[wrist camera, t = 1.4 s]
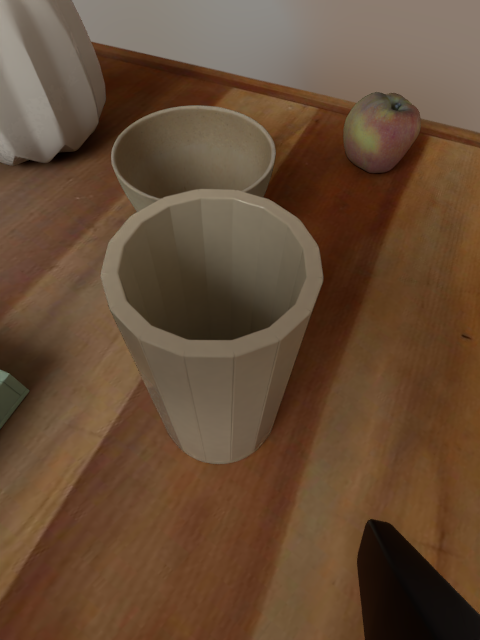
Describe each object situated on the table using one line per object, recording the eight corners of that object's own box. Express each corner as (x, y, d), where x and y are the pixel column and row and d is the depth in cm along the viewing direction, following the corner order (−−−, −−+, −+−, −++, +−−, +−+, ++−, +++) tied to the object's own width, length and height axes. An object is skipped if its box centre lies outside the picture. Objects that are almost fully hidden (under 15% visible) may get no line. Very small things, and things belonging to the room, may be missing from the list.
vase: (-65, 132, 35) (-204, -72, 24) (71, 85, 40) (10, -100, 29) (-2, 209, 30) (-142, -5, 18) (145, 143, 35) (106, -55, 24)
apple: (317, 175, 33) (334, 108, 28) (354, 133, 37) (373, 67, 32) (382, 201, 31) (411, 134, 26) (412, 155, 35) (443, 88, 30)
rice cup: (251, 484, 19) (280, 395, 9) (142, 435, 20) (54, 305, 10) (290, 378, 23) (345, 221, 12) (194, 341, 24) (169, 168, 13)
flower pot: (209, 175, 33) (205, 88, 27) (292, 238, 29) (309, 153, 23) (109, 228, 29) (78, 141, 23) (190, 308, 25) (178, 229, 19)
